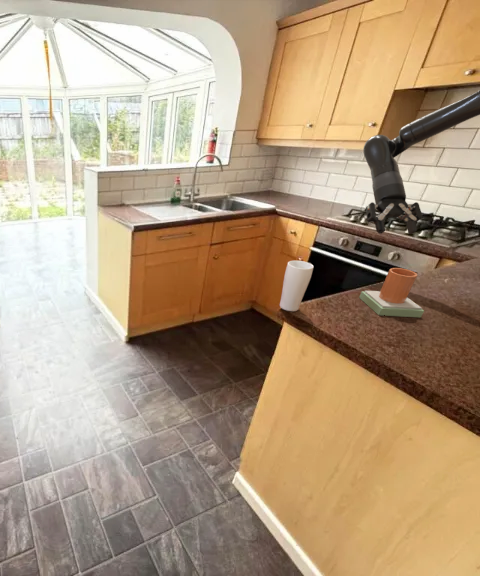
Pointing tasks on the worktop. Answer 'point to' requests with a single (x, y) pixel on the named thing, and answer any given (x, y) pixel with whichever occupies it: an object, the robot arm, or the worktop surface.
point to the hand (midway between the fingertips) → (397, 232)
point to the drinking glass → (295, 284)
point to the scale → (390, 305)
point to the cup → (397, 285)
